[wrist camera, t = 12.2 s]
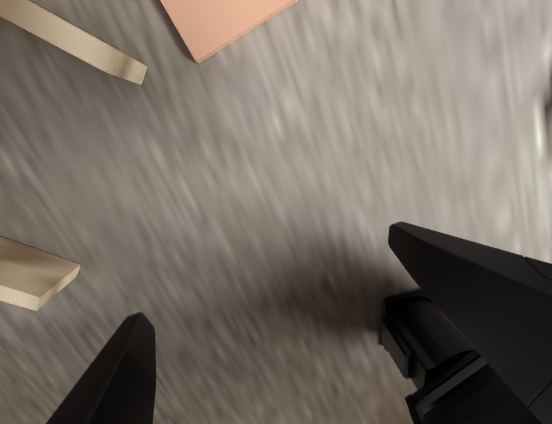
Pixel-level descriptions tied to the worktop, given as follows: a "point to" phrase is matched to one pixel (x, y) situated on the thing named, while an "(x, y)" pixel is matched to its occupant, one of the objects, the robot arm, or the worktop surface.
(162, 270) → the worktop surface
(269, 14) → the terracotta tile
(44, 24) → the birch stall
